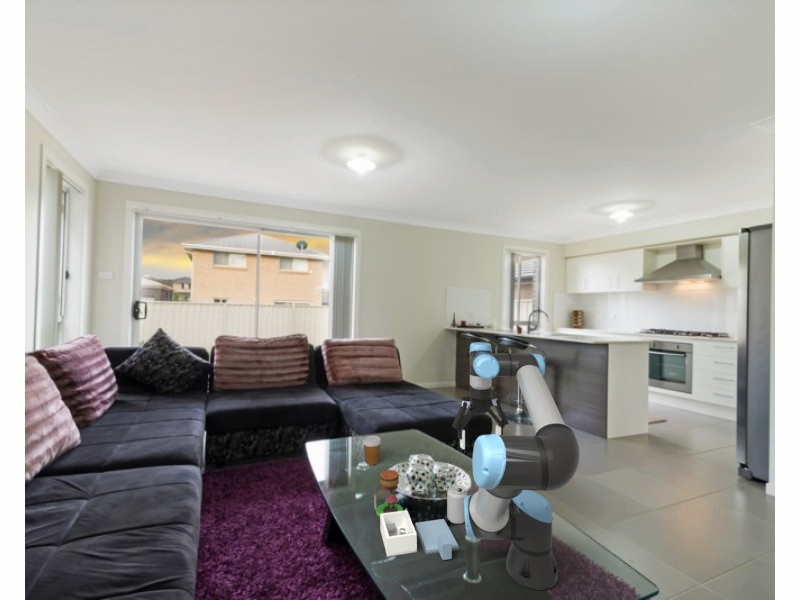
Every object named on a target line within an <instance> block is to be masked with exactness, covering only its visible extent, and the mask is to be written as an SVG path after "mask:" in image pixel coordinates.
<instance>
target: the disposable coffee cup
mask: <svg viewBox="0 0 800 600" xmlns="http://www.w3.org/2000/svg"><path fill="white" fill-rule="evenodd" d="M381 444H382V439H381V437H380V436H377V435H368V436H365V437H363V440H362V445H363V449H364V450H363V451H364V460H365V464H366V463H367V465H368V464H369V466H375V465H374V464H376V465H378V464H377V463H379V459H380V451H381V449H380V448H381Z"/></svg>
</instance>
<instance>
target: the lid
mask: <svg viewBox="0 0 800 600" xmlns="http://www.w3.org/2000/svg"><path fill="white" fill-rule="evenodd" d="M446 523H447V522H446V520H445V519H444V518H441V519H440V518H439V519H434V520H433V519H432V520H427V521H426V520H425V521H420V522H415V525H414V526H416V528H417V530H418V532H419V535H420V537H421V540H422V542H423V544H424V547H425V549H426V552H434V551H439V553H438V554H439V555H440V557H441V559H442V561H445V560H451V559H452V557H453V553H452V549H453V548H458V545H459V544H457V543H458V542H457V540H456V539H455V538H456V537H455V536H454V534H453V532H452V531H451V529H450V527H449V525H448V524H446ZM447 525H448V526H447ZM452 534H453V535H452Z"/></svg>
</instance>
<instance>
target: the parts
mask: <svg viewBox="0 0 800 600" xmlns="http://www.w3.org/2000/svg"><path fill="white" fill-rule="evenodd" d="M387 531H388V535H389V537H390V536H397V528H396V525H395V523H391V524H387ZM404 534H406V529H405V528H400V535H404Z"/></svg>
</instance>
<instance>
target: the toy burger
mask: <svg viewBox="0 0 800 600" xmlns="http://www.w3.org/2000/svg"><path fill="white" fill-rule="evenodd" d="M399 475H400V474H399V471H397V470H395V469H394V470H393V469H385V470H382V472H380V474H379V479H380V480H379V484H380V485H379V486H377V487H376V488H375V489H374V491H373V505H374V510H375V513H376V516H378V517H379V518H380V514H382V513H390V512H398V511H404V508H403V506H401V505H400V504H399V503H397V502H398V500H399V499H398V497H397V496H396V495H395V494H394V493H393V491H396V490H397V489H398V488H399V487H398V485H399V484H400V478H399V477H400V476H399ZM381 499H385V501H386V502H384V503H381V504H380V505H378V506H377V502H378V501H379V500H381Z"/></svg>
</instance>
